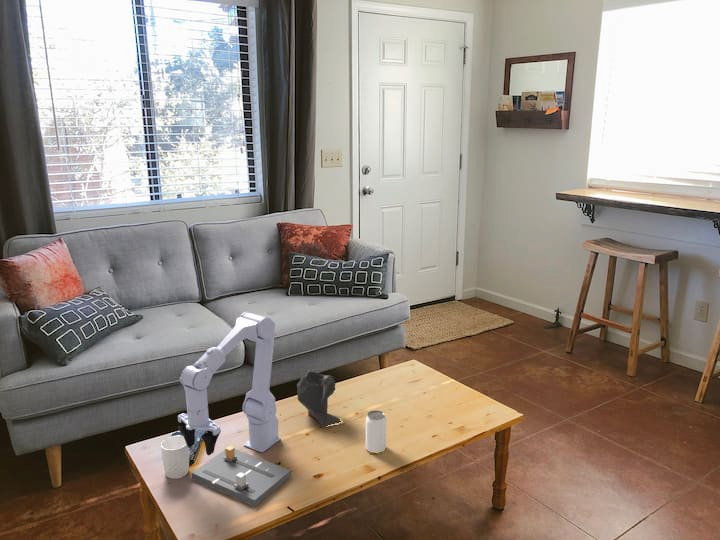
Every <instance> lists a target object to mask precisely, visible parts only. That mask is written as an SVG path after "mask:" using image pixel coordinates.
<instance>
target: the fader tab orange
mask: <svg viewBox="0 0 720 540" xmlns="http://www.w3.org/2000/svg"><path fill="white" fill-rule="evenodd" d="M234 449H235V447H234V446H232V445H228V446H227V447H225V448H224V450H225V453H226V456H225V457H223V459H225V460H227V461H230V462H232V461H233V460H234V459H236V458H237V456H236V455H235V450H234Z"/></svg>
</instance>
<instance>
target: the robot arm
mask: <svg viewBox="0 0 720 540" xmlns="http://www.w3.org/2000/svg"><path fill="white" fill-rule="evenodd" d="M275 326H276V323H275V321H274V320H273V319H272V318H271V317H268V316H264V315H259V314H256V313H252V312H250V311H244V312H243V313H241V315H239V317H238V318H236V320H235V325H234V327H233V328H232V329H231V330H230V332H228V333H227V335H226V336H225V337H224V338H223V339H222V341H220V343H219V344H218V345H217V346H212V347H210V348H207V350H206V352H204V354H202V356H200V358H198V360H197V361H196V362H194V363H193V364H192V365H188V366H185V368H184V369H183V370H182V371H181V374H180V377H179V379H178V380H179V382H180V383H181V385H182V386H183V390H184V393H185V401H186V403H185V404H186V413H184V412H183V413H181V414H178V415H177V421H178V423H180V424H179V425H178V426H177V430H178V431H179V432H180V434H182V435H181V436H183V437H184V439H185V441H186V444H187V446H188V447H189V449H190V448H191V447H193V446H194V445H195V443H196V434H195V433H196V430H199V431H200V430H201V431H206V432H205V433H203V434H202V435H201V436H200V437H201V439H202V441H203V442H204V446H205V447H204V448H205V452H206V455H207V456H211V455H212V454H214V452H215V448H216V443H217V441H218V438H219V436H220V434H221V431H222V430H221V426H220V425H217V424H216V423H215V422H214V421H213V420H212V419H210V418H209V405H208V404H209V402H208V392H207V389H208V388H207V387H209V385H210V383H211V380H212V378H213V376H214V373H216V372H217V370H218V369H220V368H221V366H222V365H223V364H225V362H226V357H227V355H228V354H229V353H230V352H231V351H233V349H235V347H237V346H238V345H239V344H240V343H241V342H243V341H244V340H245V339H250V340H251V339H252V340H254V342H255V353H254V363H253V364H254V365H253V374H252V384H251V385H252V386H251V390H249V391H248V392H246V393H245V399H244V401H243V403H242V412H243V414H245V415H246V419H247V421H248V440H247V441H246V442H244V443H243V446H244V447H247V448H249V449H252V450H254V451H258V452H260V453H264V452H265V451H267V450H268V449H270V448H271V447H272V446H273V445H274V444H277V443H278V442H279V441H280V440H281V437H280V436H279V420H278V418H277V416H276V415H277V404H276V397H275V396H274V395H273V393H272V392H271V390H270V386H271V385H270V384H271V376H272V366H273V356H274V345H275Z"/></svg>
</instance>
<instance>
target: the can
mask: <svg viewBox="0 0 720 540" xmlns="http://www.w3.org/2000/svg"><path fill="white" fill-rule="evenodd" d="M386 445H387V417H386V414H385V412H383V411H381V410H370V411H368V413H367V416H366V418H365V449H367V450H368V451H370V452H381V451H383V452H385V450H386V449H385V448H386ZM367 450H366V451H367ZM368 451H367V452H368ZM370 452H369V453H370Z"/></svg>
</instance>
